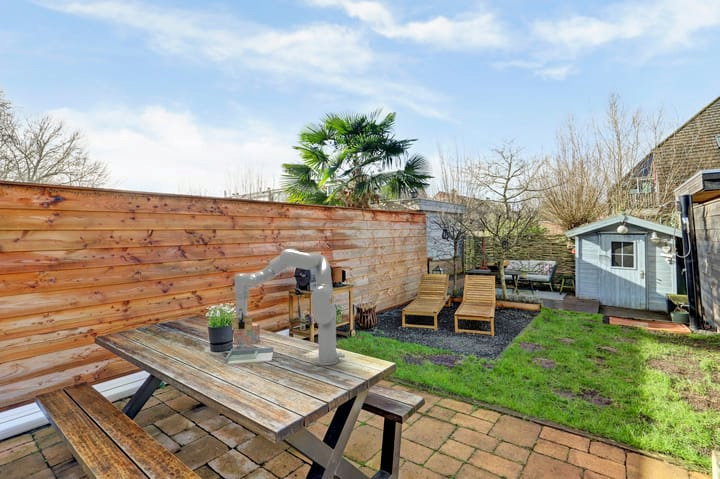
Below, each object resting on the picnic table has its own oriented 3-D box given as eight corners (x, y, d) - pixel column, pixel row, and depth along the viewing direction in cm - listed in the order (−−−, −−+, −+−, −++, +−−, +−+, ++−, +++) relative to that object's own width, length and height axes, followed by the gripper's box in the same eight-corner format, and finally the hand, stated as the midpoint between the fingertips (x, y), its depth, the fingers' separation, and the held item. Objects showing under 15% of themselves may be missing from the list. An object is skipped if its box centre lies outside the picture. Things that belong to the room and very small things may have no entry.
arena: (273, 352, 199) (273, 347, 199) (271, 361, 185) (271, 355, 185) (230, 355, 194) (230, 350, 194) (225, 364, 181) (225, 358, 181)
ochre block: (233, 327, 192) (233, 317, 192) (252, 326, 194) (252, 316, 194) (232, 329, 187) (232, 319, 187) (251, 328, 189) (250, 318, 189)
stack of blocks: (223, 344, 216) (223, 325, 216) (228, 341, 222) (228, 322, 222) (256, 344, 215) (256, 325, 214) (260, 341, 221) (259, 322, 221)
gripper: (237, 293, 198) (238, 324, 198) (232, 298, 181) (232, 332, 181) (251, 292, 199) (251, 323, 200) (246, 297, 183) (247, 331, 183)
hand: (242, 327), depth 191 cm, fingers closed on ochre block, 5 cm apart
